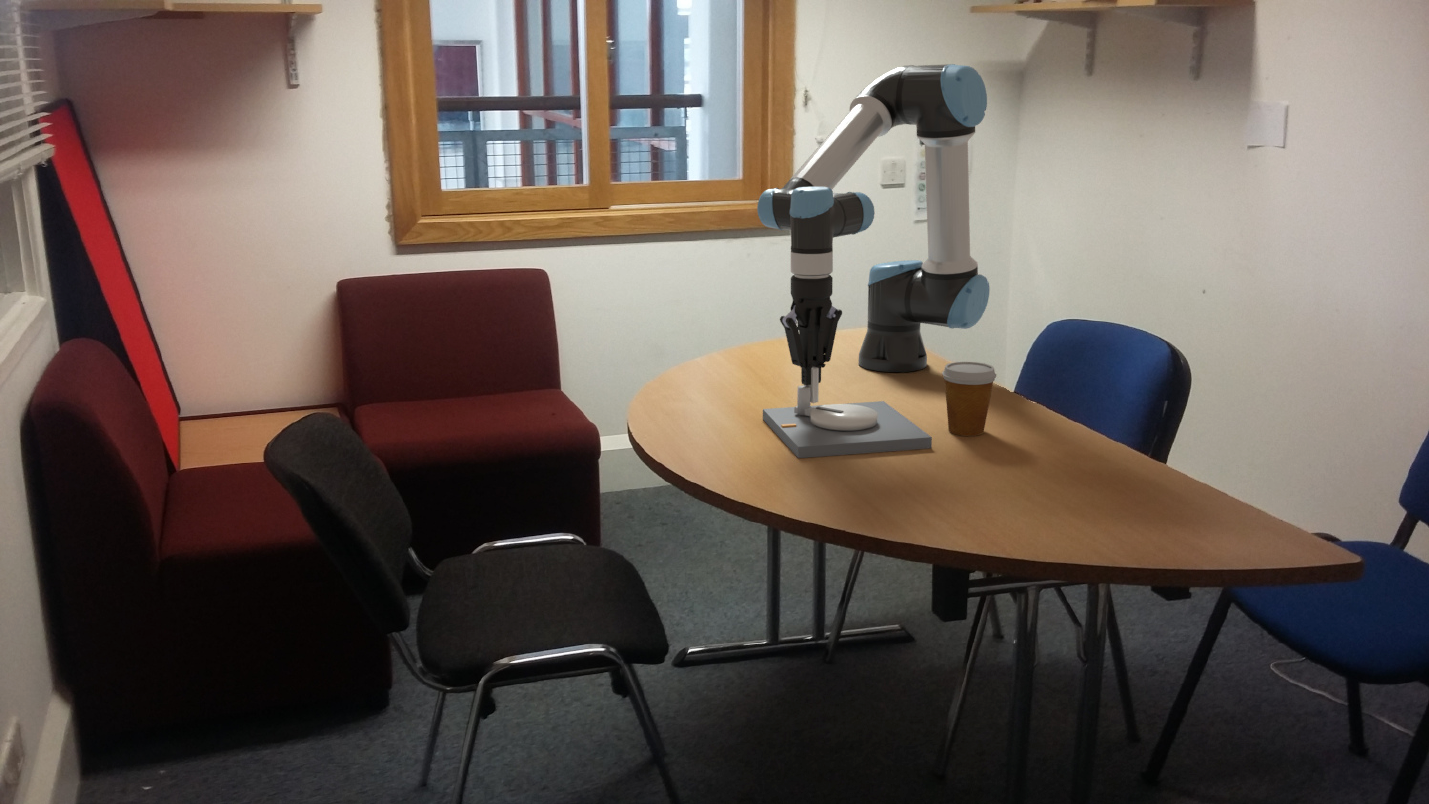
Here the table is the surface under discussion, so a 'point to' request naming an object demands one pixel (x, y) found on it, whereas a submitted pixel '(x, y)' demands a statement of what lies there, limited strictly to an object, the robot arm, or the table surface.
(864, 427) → the dial
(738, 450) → the table surface
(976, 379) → the disposable coffee cup
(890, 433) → the panel
